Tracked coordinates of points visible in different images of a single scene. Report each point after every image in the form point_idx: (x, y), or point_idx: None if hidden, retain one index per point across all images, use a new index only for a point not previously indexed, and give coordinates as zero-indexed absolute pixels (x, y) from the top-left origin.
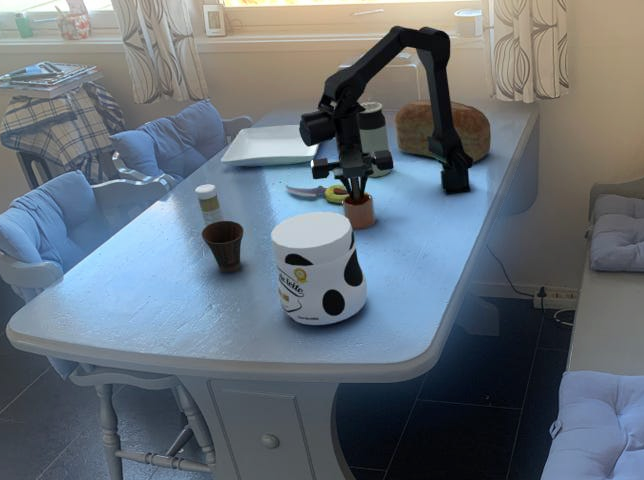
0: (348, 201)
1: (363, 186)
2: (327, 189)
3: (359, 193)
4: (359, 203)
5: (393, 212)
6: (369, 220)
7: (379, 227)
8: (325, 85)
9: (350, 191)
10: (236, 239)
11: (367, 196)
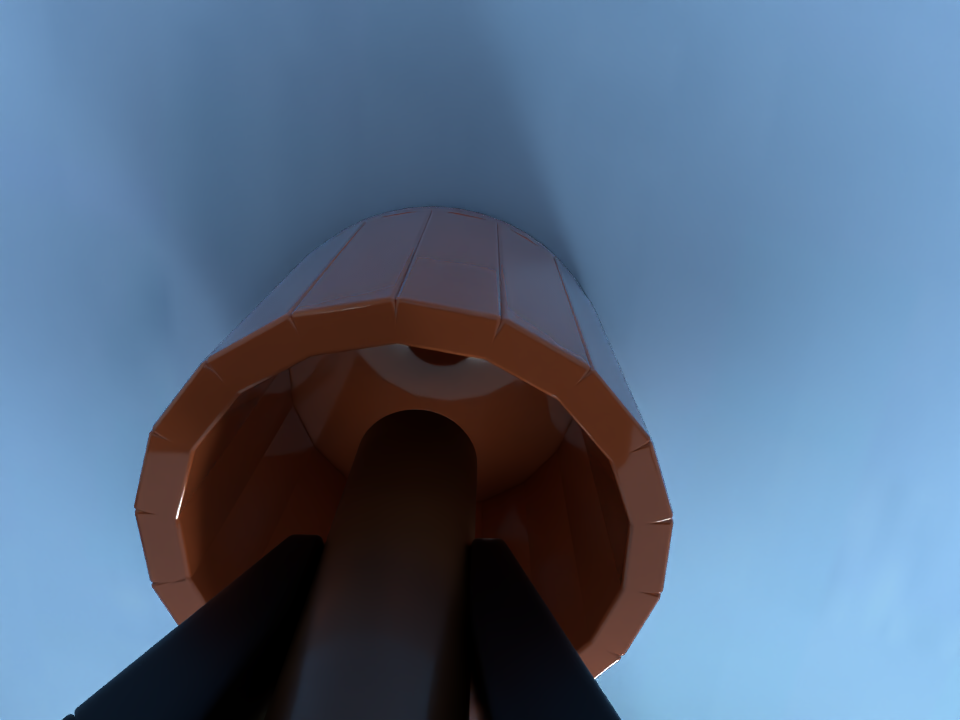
0: None
1: (125, 715)
2: None
3: (317, 600)
4: (382, 464)
5: (82, 479)
6: (312, 254)
7: (219, 169)
8: None
9: (506, 654)
10: None
11: None
